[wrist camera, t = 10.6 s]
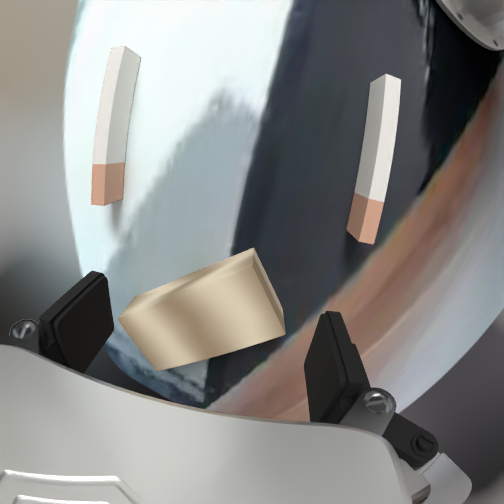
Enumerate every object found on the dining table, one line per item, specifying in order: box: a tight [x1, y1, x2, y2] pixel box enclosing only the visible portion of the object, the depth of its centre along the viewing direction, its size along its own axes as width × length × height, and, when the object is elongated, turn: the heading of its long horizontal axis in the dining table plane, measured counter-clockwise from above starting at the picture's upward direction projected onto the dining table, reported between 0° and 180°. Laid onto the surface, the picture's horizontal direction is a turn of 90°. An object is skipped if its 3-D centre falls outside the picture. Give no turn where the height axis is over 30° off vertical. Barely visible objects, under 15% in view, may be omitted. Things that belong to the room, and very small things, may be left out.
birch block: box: [118, 248, 285, 371], centre depth 22 cm, size 12×6×4 cm, turn 114°
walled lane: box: [91, 46, 401, 244], centre depth 17 cm, size 20×12×3 cm, turn 82°
